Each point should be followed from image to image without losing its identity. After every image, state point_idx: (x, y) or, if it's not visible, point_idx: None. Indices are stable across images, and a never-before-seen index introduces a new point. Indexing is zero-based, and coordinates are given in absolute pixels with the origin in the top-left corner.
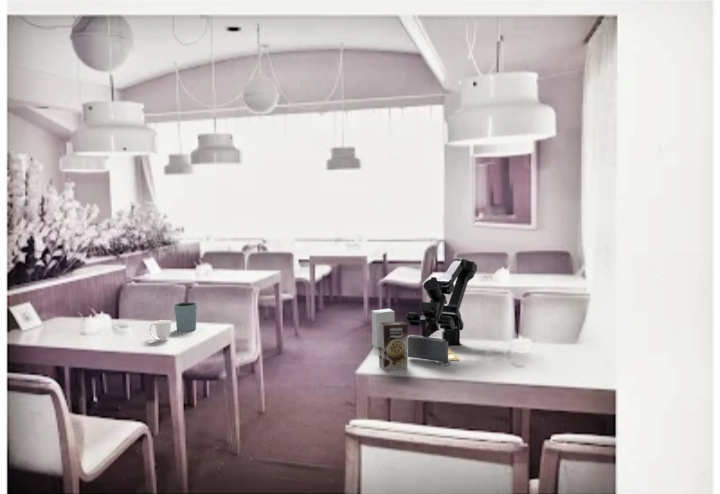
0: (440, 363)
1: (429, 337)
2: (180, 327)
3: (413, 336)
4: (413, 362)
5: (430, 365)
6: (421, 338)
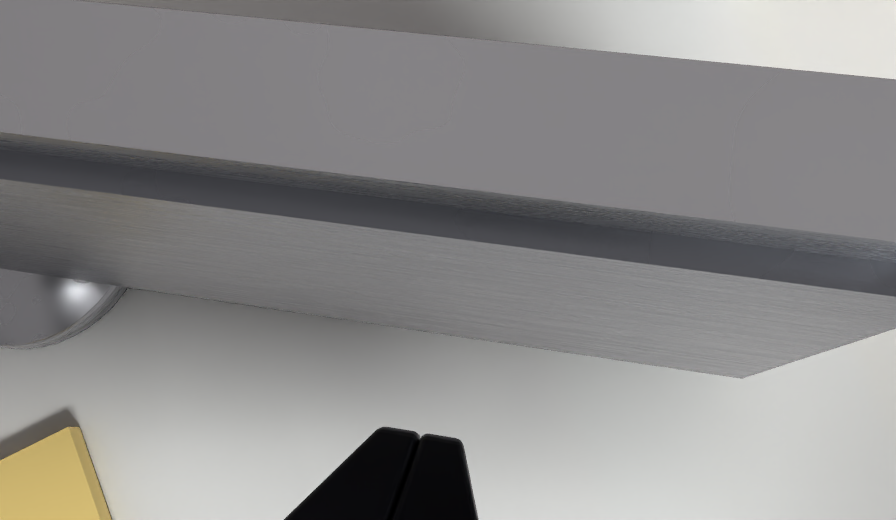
0: None
1: (50, 117)
2: None
3: (725, 67)
4: None
5: None
6: (364, 48)
